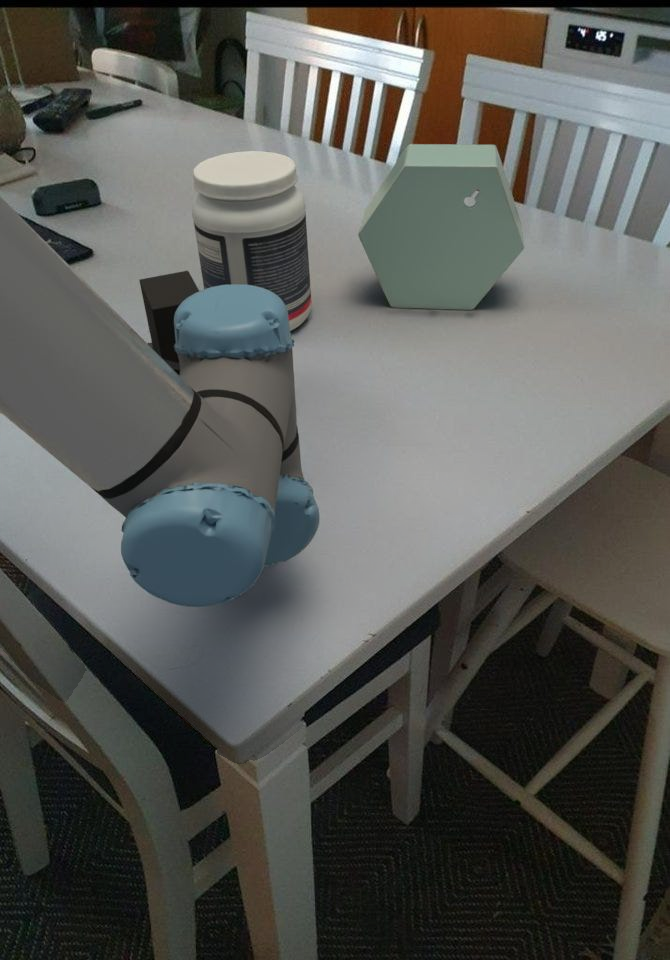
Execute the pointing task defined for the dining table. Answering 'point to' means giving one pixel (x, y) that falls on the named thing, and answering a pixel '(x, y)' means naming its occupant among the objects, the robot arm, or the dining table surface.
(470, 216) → the green hexagonal block
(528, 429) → the dining table surface
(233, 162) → the supplement tub
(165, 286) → the tall dark brick
